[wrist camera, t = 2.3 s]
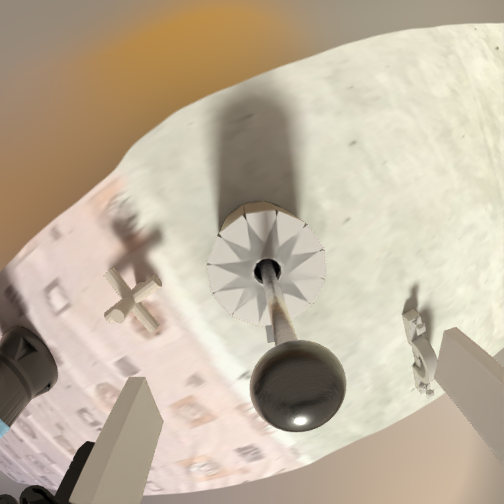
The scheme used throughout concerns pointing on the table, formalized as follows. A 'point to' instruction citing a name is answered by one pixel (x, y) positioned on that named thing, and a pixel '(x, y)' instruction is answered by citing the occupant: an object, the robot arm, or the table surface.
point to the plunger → (293, 369)
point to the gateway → (420, 352)
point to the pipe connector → (132, 300)
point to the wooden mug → (263, 247)
